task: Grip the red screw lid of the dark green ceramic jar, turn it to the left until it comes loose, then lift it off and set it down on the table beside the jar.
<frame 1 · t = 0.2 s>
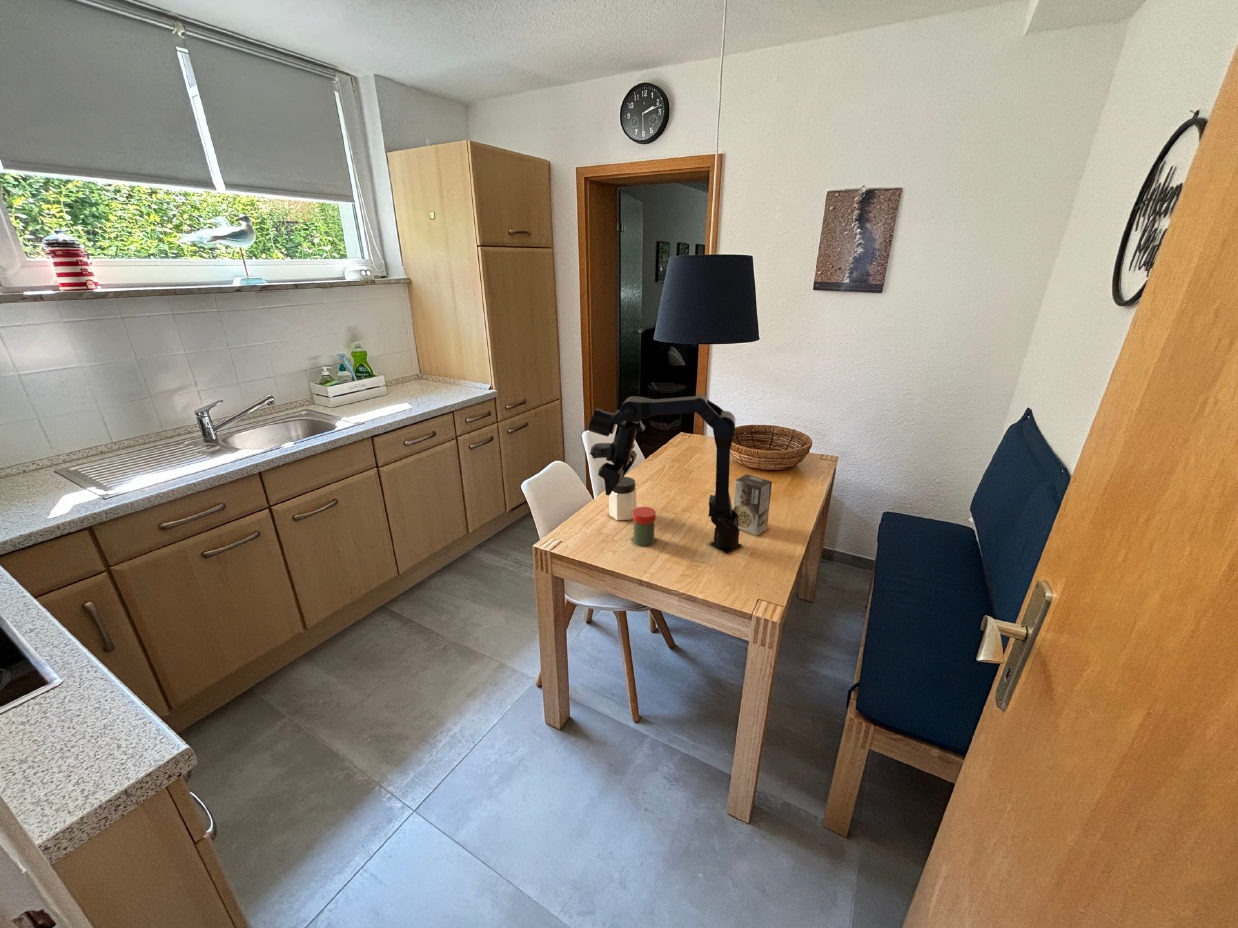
hand: (612, 488, 146), 15 cm above the table, tool pointing down, fingers open, 9 cm apart
green jar: (643, 540, 148), on the table
jar: (622, 515, 164), on the table
coffee box: (749, 528, 155), on the table
lid: (644, 513, 145), point 9 cm above the table, screwed on, not yet turned
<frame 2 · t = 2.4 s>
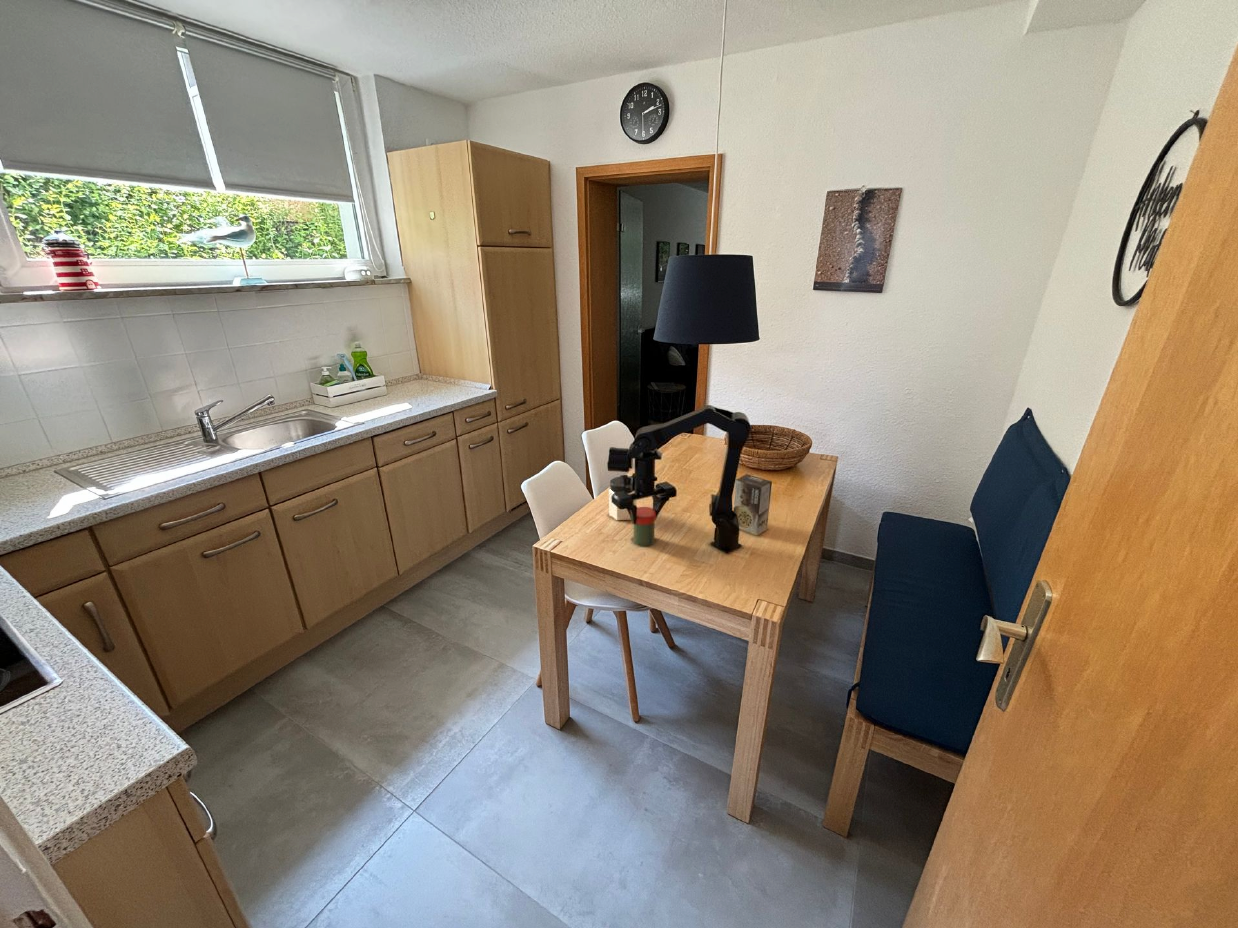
hand: (644, 521, 146), 7 cm above the table, tool pointing down, fingers closed on lid, 6 cm apart
lid: (644, 513, 145), point 9 cm above the table, screwed on, not yet turned, touching gripper
everything else where it was.
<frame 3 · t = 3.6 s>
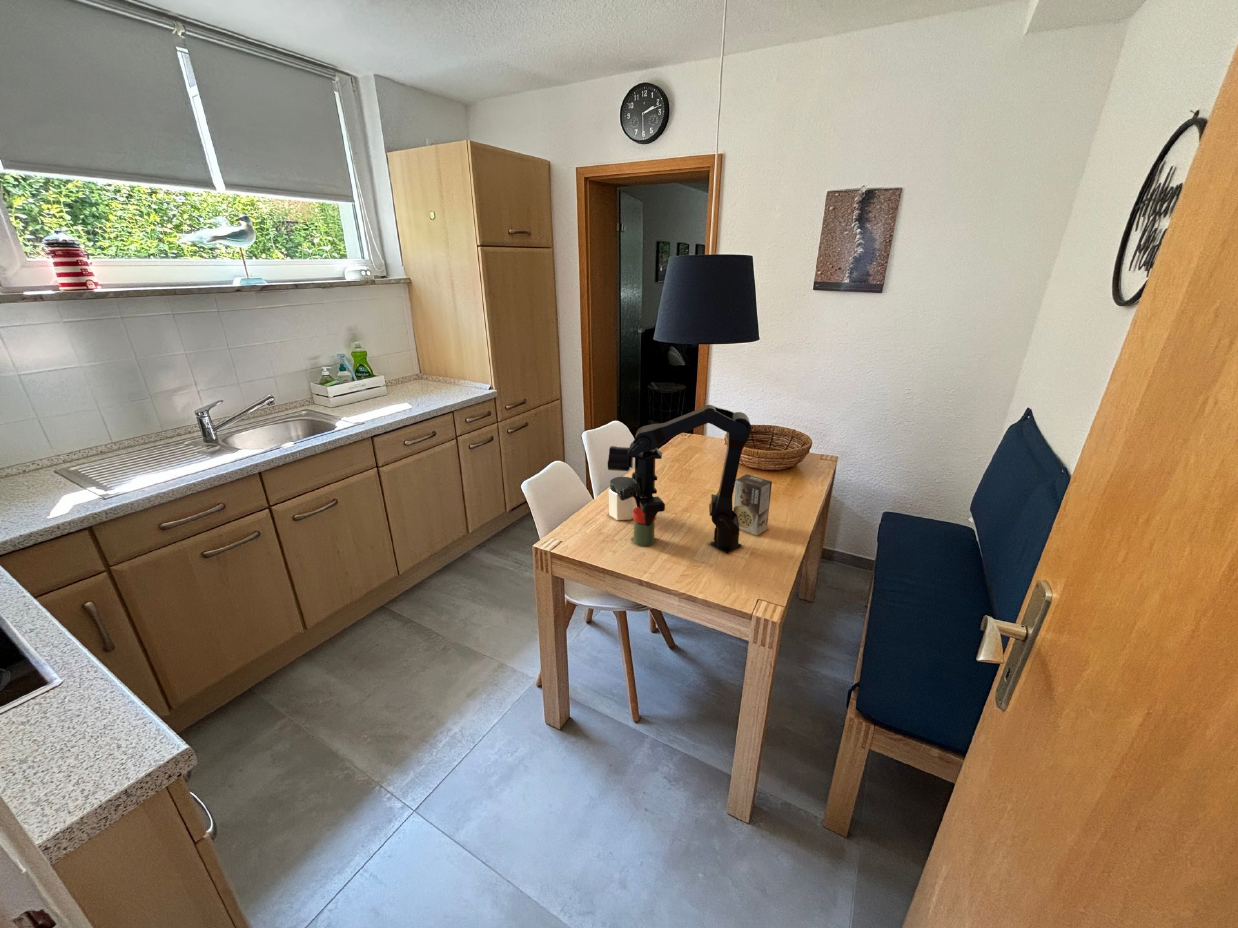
hand: (644, 520, 146), 7 cm above the table, tool pointing down, fingers closed on lid, 6 cm apart
lid: (644, 512, 145), point 9 cm above the table, turned 78° so far, risen 0.2 cm, still on its thread, touching gripper
everything else where it was.
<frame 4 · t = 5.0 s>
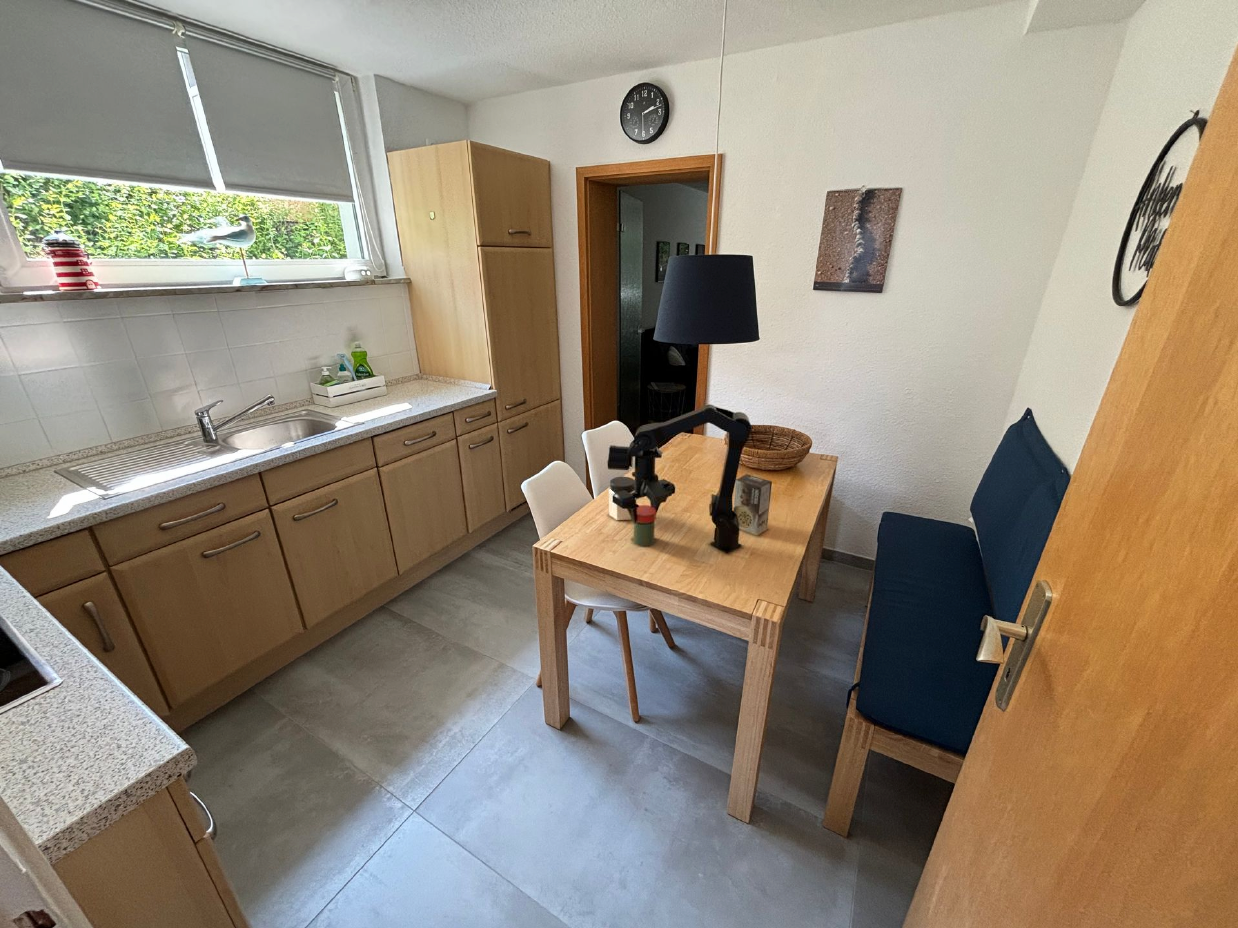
hand: (644, 519, 146), 7 cm above the table, tool pointing down, fingers closed on lid, 6 cm apart
lid: (644, 511, 145), point 10 cm above the table, off its thread, touching gripper
everything else where it was.
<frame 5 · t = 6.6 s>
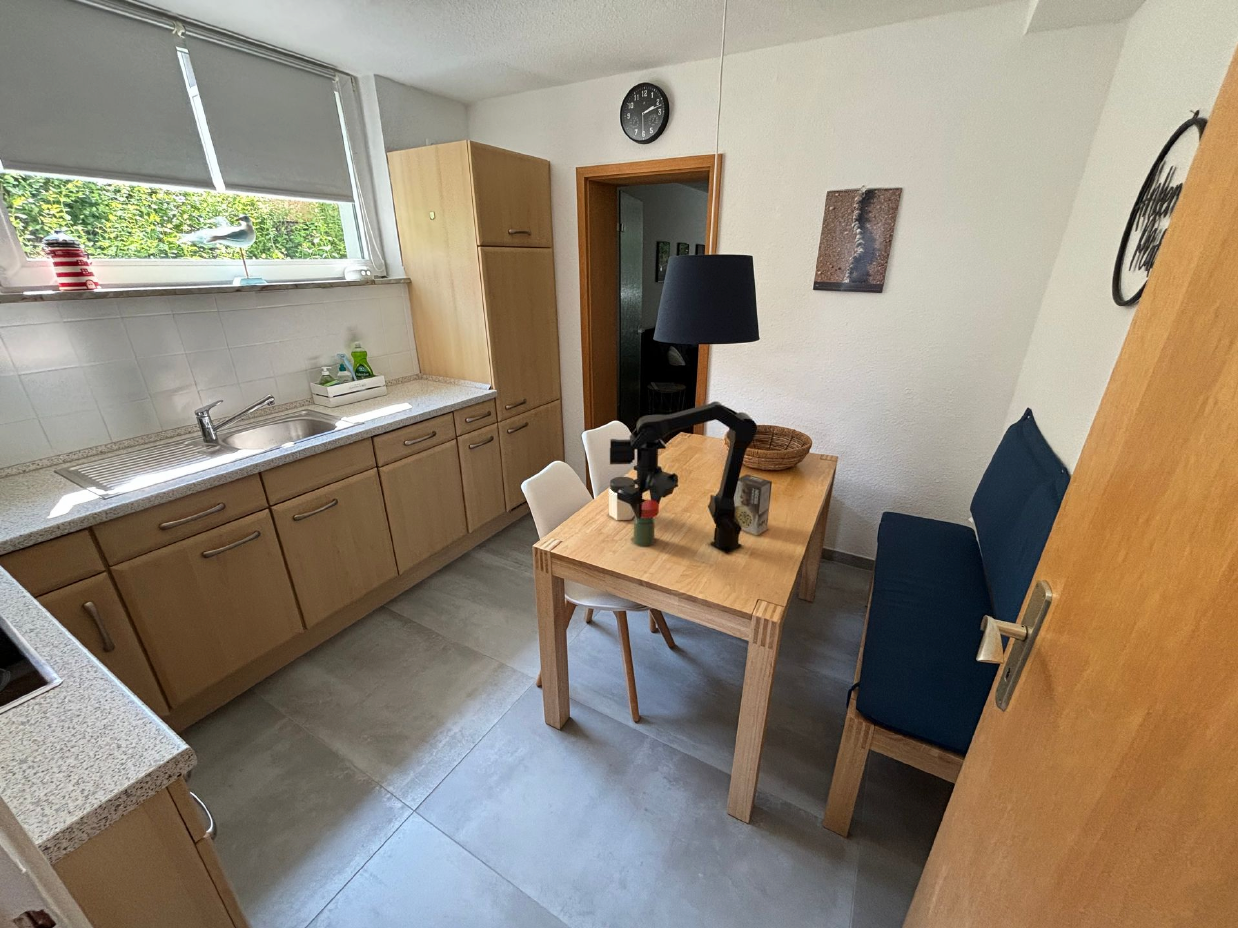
hand: (646, 514, 140), 11 cm above the table, tool pointing down, fingers closed on lid, 6 cm apart
lid: (647, 506, 139), point 14 cm above the table, off its thread, touching gripper
everything else where it was.
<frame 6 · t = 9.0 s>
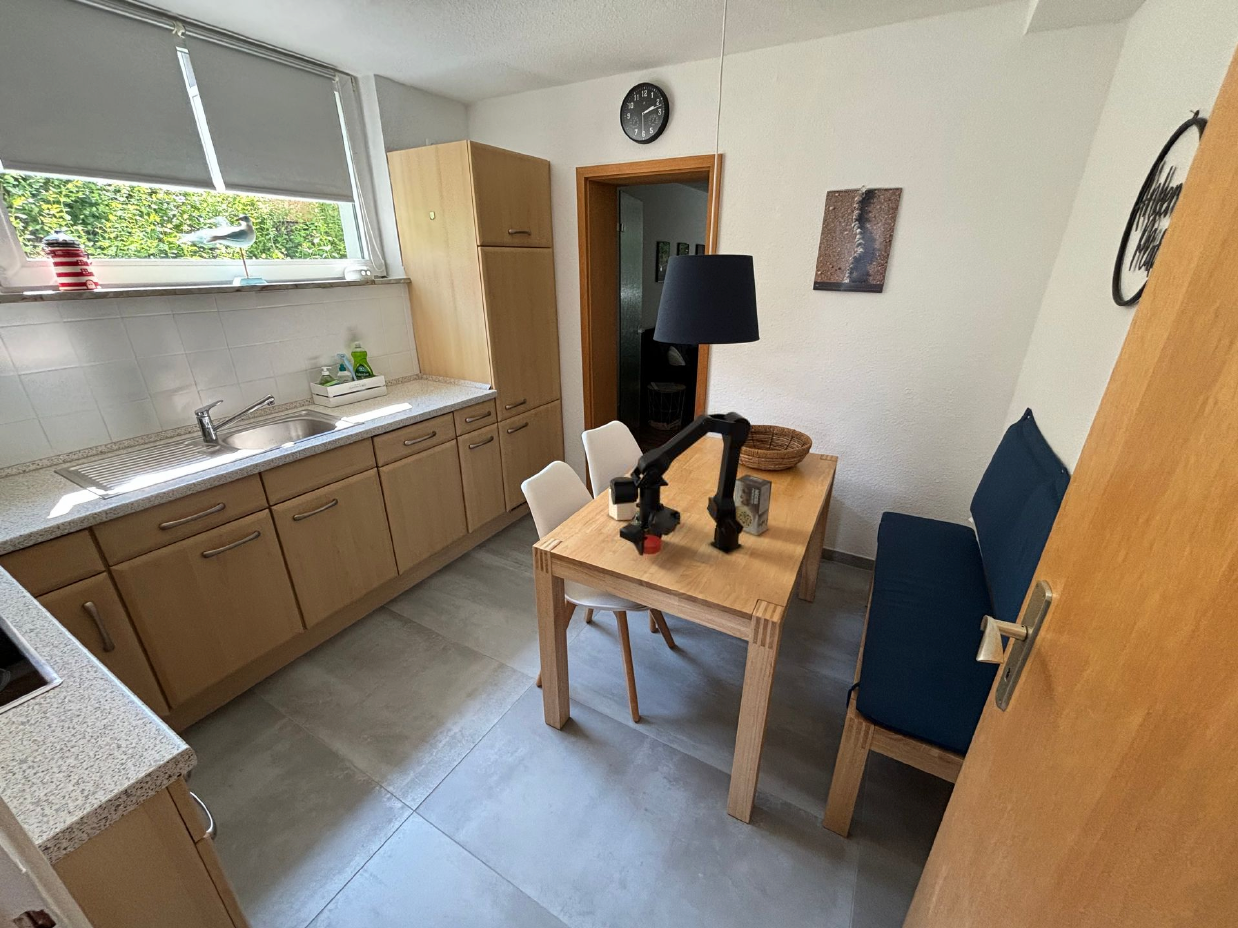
hand: (648, 550, 140), 2 cm above the table, tool pointing down, fingers closed on lid, 6 cm apart
lid: (649, 542, 139), point 4 cm above the table, off its thread, touching gripper
everything else where it was.
when the fingers open (0 cm above the table, at t = 11.2 s): lid stays where it is, point 2 cm above the table.
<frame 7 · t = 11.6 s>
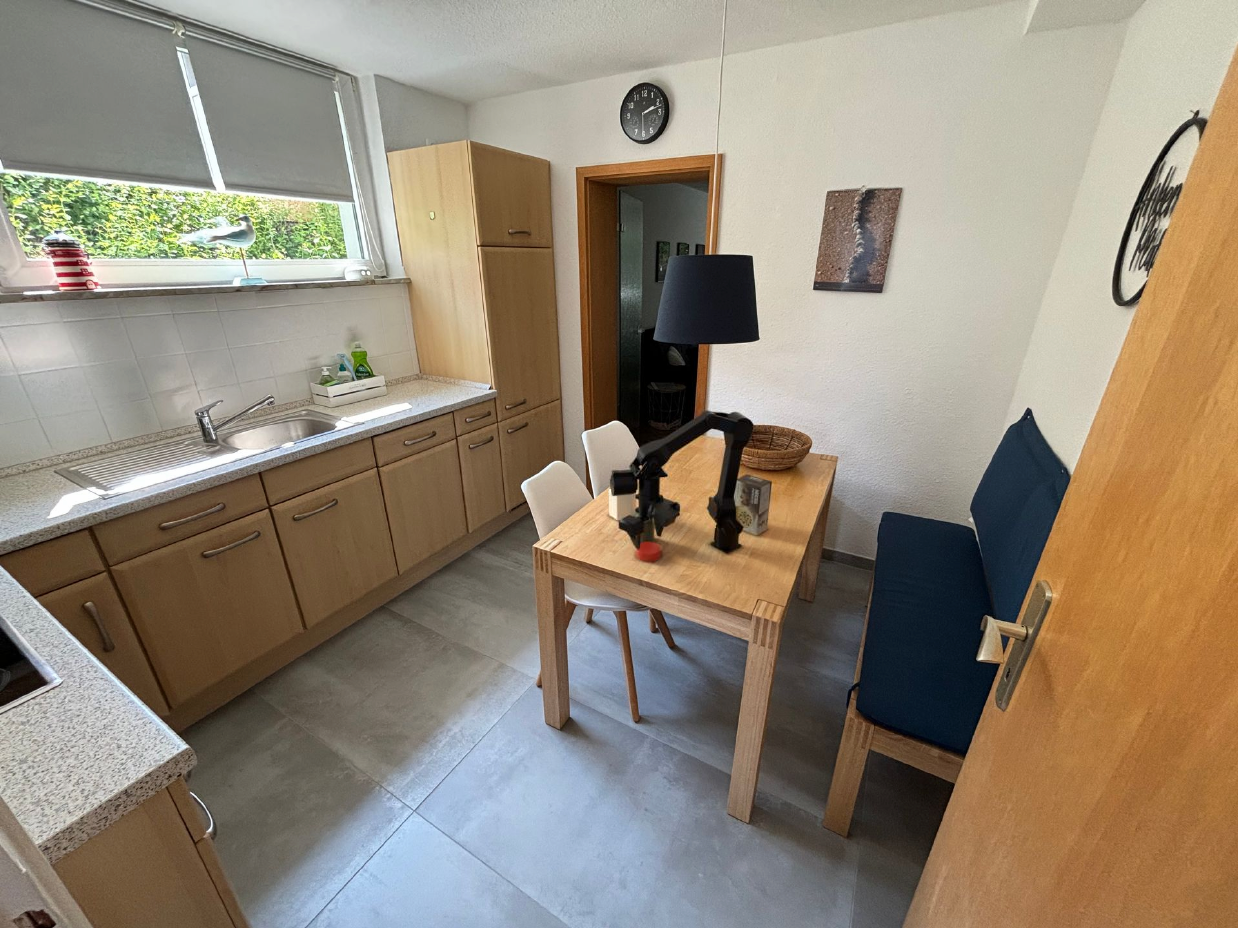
hand: (648, 542, 139), 4 cm above the table, tool pointing down, fingers open, 9 cm apart
lid: (648, 549, 140), point 2 cm above the table, off its thread
everything else where it was.
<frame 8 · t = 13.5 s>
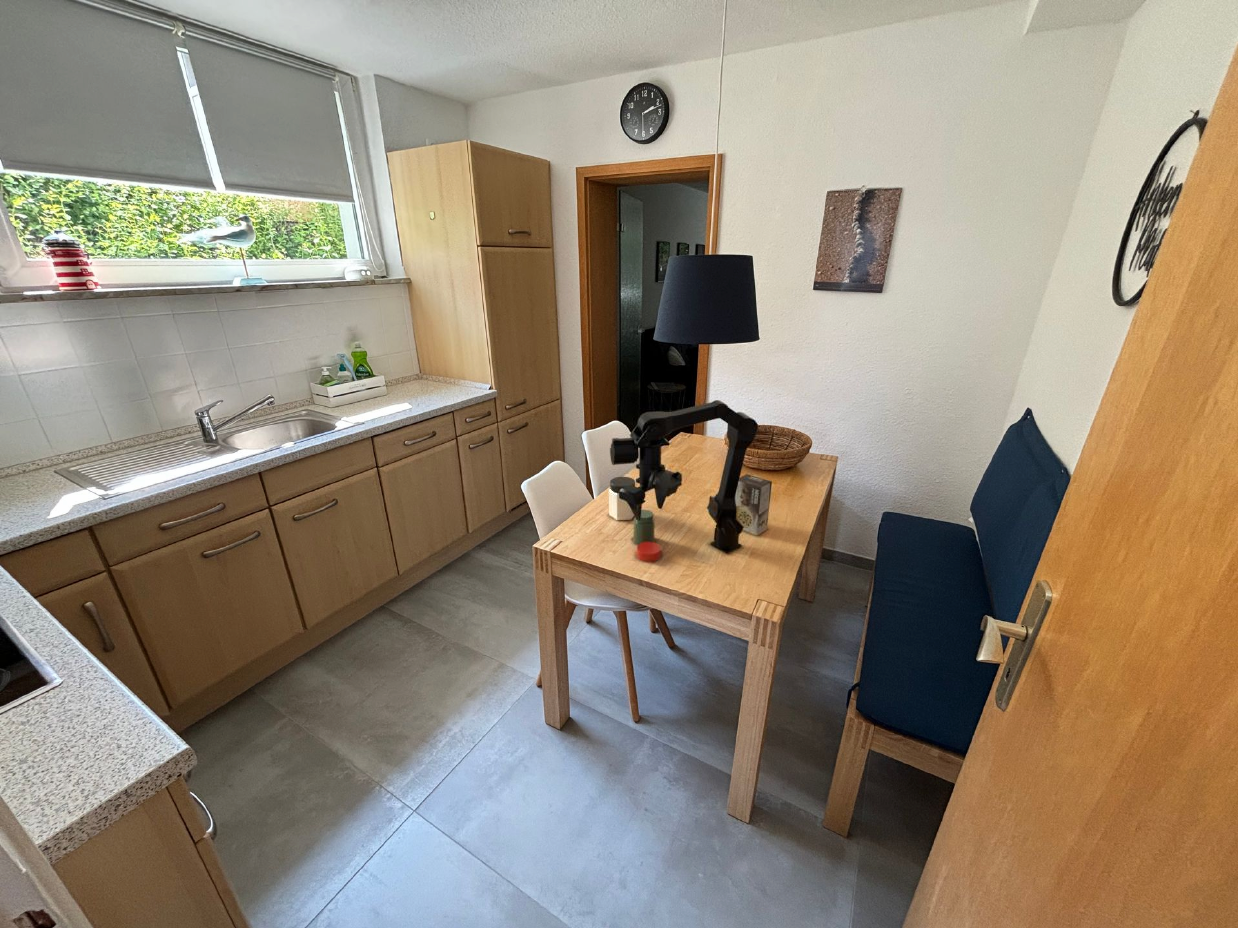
hand: (649, 514, 136), 13 cm above the table, tool pointing down, fingers open, 9 cm apart
nothing on the table moved.
at the end: lid inside the target area (0.0 cm from its centre), point 1.9 cm above the table; the gripper is holding nothing; green jar tilted 0° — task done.
